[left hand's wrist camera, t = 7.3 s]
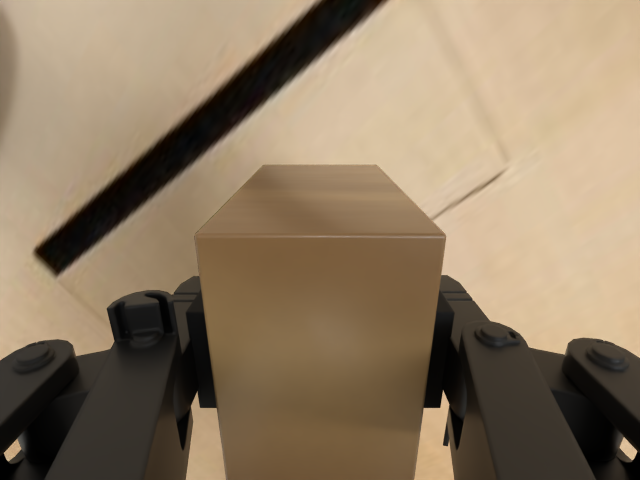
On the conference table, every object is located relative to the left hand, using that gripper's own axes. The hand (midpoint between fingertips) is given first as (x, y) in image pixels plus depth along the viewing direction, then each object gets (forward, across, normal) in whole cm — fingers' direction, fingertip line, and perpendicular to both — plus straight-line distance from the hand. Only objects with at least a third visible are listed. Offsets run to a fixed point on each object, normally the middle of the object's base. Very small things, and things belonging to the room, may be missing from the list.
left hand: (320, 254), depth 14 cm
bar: (+1, 0, -8) cm, 8 cm away
